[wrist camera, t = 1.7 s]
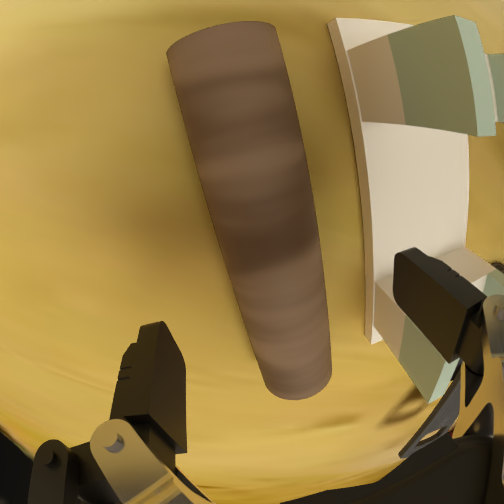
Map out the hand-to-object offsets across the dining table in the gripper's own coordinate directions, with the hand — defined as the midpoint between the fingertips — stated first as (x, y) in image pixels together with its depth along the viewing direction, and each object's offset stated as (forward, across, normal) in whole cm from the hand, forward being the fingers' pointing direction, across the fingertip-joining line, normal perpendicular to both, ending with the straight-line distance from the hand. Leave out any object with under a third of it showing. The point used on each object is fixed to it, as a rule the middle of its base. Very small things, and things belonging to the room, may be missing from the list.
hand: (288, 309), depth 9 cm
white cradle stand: (+8, -11, 0) cm, 14 cm away
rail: (+8, 0, 0) cm, 8 cm away
